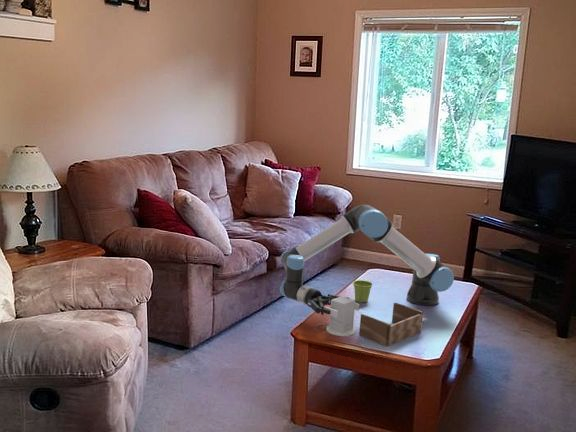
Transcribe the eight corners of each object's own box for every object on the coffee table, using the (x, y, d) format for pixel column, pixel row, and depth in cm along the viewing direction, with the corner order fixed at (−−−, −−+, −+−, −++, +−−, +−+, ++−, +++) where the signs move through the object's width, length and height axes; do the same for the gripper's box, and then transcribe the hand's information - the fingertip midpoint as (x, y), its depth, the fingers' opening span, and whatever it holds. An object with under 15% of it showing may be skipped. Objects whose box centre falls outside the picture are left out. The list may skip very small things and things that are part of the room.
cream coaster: (338, 322, 259) (339, 321, 259) (361, 331, 251) (361, 330, 251) (320, 329, 251) (320, 328, 251) (342, 338, 243) (342, 337, 243)
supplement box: (353, 329, 251) (356, 300, 249) (342, 333, 246) (344, 304, 244) (339, 324, 256) (341, 295, 254) (328, 328, 251) (330, 299, 248)
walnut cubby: (393, 322, 264) (395, 302, 262) (420, 332, 255) (423, 311, 253) (359, 335, 247) (360, 314, 245) (387, 346, 238) (389, 324, 236)
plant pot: (348, 301, 287) (350, 283, 286) (355, 296, 296) (356, 278, 294) (367, 305, 283) (369, 287, 282) (373, 299, 292) (375, 282, 290)
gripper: (328, 299, 271) (366, 312, 257) (289, 311, 253) (327, 326, 239) (329, 283, 270) (367, 295, 255) (290, 294, 252) (328, 308, 238)
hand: (348, 310), depth 247 cm, fingers open, 13 cm apart
